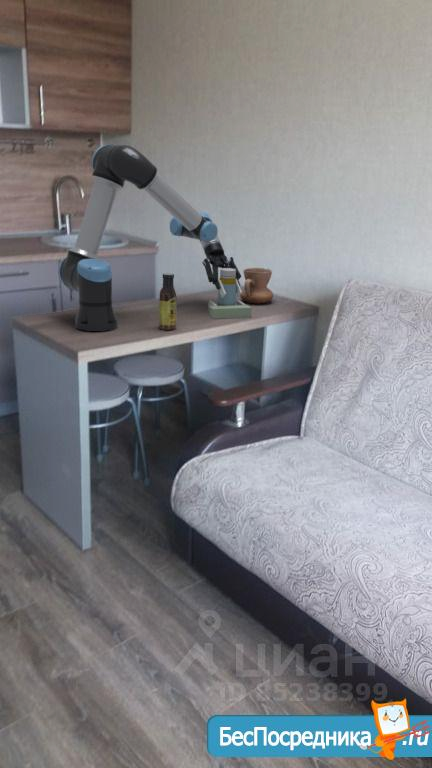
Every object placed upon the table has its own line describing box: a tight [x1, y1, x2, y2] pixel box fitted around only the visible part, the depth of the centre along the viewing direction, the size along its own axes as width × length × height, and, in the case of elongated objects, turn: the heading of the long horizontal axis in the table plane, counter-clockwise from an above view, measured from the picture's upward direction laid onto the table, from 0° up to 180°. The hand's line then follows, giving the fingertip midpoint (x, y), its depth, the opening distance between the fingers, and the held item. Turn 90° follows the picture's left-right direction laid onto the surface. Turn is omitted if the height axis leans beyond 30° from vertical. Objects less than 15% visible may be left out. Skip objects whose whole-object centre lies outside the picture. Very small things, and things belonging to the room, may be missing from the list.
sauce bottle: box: [158, 272, 178, 331], centre depth 217 cm, size 7×6×20 cm
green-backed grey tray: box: [207, 299, 252, 320], centre depth 242 cm, size 16×13×4 cm
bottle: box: [217, 268, 237, 306], centre depth 242 cm, size 7×7×15 cm
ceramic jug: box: [239, 267, 274, 305], centre depth 263 cm, size 18×14×14 cm
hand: (231, 294), depth 240 cm, fingers closed on bottle, 7 cm apart
